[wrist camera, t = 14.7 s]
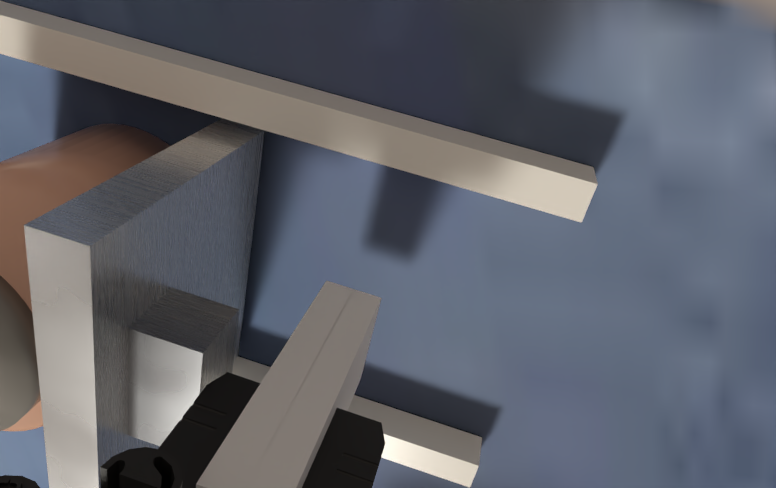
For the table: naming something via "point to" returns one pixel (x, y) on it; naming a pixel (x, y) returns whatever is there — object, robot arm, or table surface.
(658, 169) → the table surface
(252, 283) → the table surface
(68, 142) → the jar
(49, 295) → the pusher
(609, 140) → the table surface
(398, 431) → the lane
